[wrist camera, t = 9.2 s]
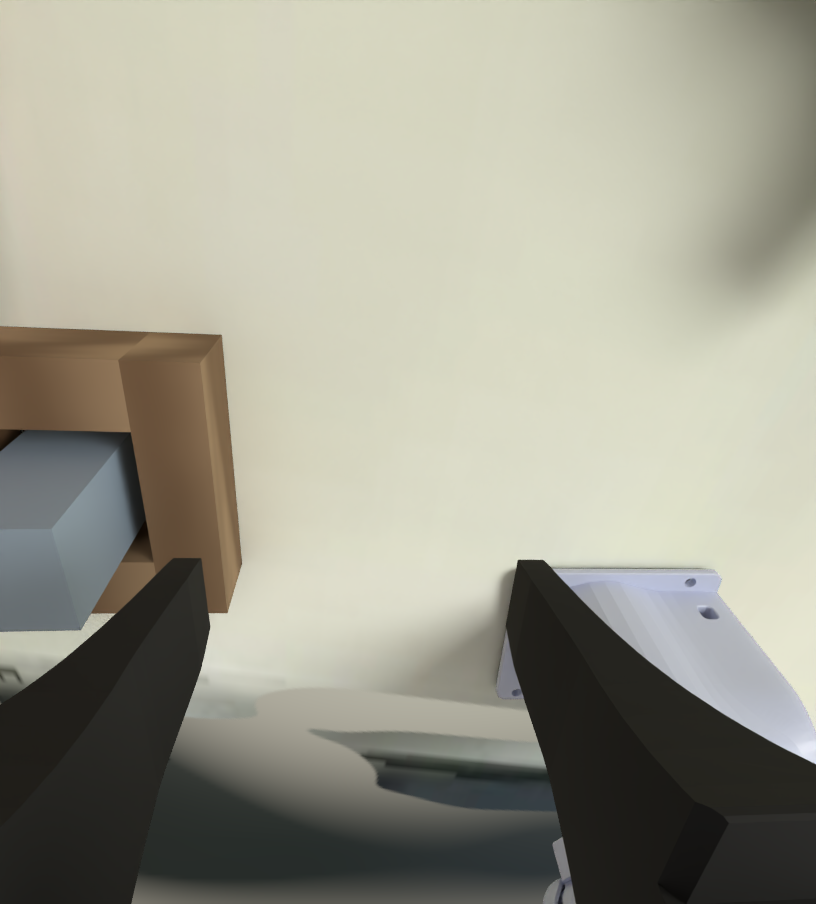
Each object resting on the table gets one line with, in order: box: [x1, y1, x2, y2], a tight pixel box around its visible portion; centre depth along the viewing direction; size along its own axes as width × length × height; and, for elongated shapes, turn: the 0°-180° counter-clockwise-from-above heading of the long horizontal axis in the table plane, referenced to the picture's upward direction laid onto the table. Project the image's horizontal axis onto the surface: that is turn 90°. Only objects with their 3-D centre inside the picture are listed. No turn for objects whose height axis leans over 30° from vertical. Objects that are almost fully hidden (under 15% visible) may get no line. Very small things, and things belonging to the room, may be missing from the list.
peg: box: [0, 430, 146, 632], centre depth 19 cm, size 4×4×7 cm
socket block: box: [0, 326, 242, 613], centre depth 21 cm, size 10×10×3 cm
